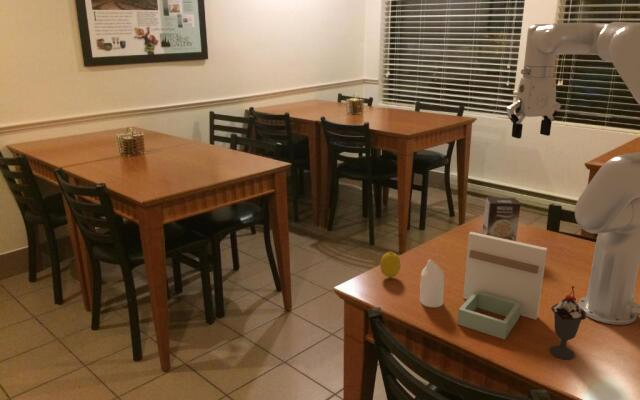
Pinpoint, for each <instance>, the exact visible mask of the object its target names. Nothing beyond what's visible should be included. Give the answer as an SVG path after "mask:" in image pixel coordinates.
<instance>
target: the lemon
mask: <svg viewBox="0 0 640 400" xmlns="http://www.w3.org/2000/svg"><path fill="white" fill-rule="evenodd" d="M400 259H401V258H400V257H399V255H398V254H396V253H395V252H393V251H392V250H391V251H388V252H385V253H384V254H383V256H382V257H381V259H380V264H379V265H380V272H381V273H382V274H383V275H384V276H385V277H387V278H389V279H392V278H393V277H396V276H398V274H399V272H400V270H401V260H400Z"/></svg>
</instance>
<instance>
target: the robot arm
mask: <svg viewBox="0 0 640 400" xmlns="http://www.w3.org/2000/svg"><path fill="white" fill-rule="evenodd" d="M560 55H561V56H562V55H593V56H594V55H597V56H598V57H599V58H600V59H601V60H602V61H605V62H610V63H612V65H613V66H614V68H615V70H616V71H617V74H619V77H620V78H621V79H622V81H623V82H624V84H625V86H626V88H627V89H628V90H629V92H630V94H631V95H632V98H634V100H635V101H636V102H637V103H638V105H640V22H629V21H628V22H627V21H626V22H625V21H623V22H622V21H613V22H610V23H606V22H604V23H600V22H557V23H541V24H540V23H538V24H532V25H530V26H529V27H528V30H527V36H526V43H525V54H524V64H523V69H521V70H520V74H521V75H522V77H521V78H520V81H519V84H518V88H517V92H516V97H515V102H513V103H512V104H510V105H509V106H507V107H506V112H507V117H508V118H509V120H510V122H511V123H512V127H511V128H512V129H511V137H512V138H515V139H521V138H522V134H523V127H524V125H523V123H522V122H523V121H524V120H525V118H532V117H533V118H537V117H542V118H543V119H541V123H540V131H539V133H540V134H541V135H543V136H549V137H550V135H551V129H552V122H554V120H555V117H556V116H557V115H558V114H559V113H558V112H559V110H560V109H561V108H562V104H561V103H560V102H558V101H556V100H557V83H556V81H557V80H556V78H555V77H554V73H555V72H554V71H555V65H556V63H555V62H556V56H560ZM580 194H581V195H580V196H579V197H578V199H577V201H576V204H575V208H574V217H575V221H576V223H577V225H578V227H579V228H580V229H582V230H583V231H585V232H587V233H589V234H598V236H597V237H596V242H595V246H594V252H593V258H592V263H591V269H590V276H589V281H588V288H587V294H586V295H585V296H583V297H580V299H579V300H578V305H579V306H580V308H581V309H583V310H584V311H585V312H586V317H588V318H590V319H592V320H594V321H597V322H600V323H604V324H607V325H608V324H609V325H614V326H625V325H626V326H627V325H629V324H633V323H634V322H635V321H636V320H637V316H640V303H638V302H636V301H635V298H636V296H635V295H634V293H635V287H636V282H637V278H638V273H639V268H640V151H637V152H630V153H623V154H618V155H615V156H613V157H612V158H610V159H608V160H607V161H606V162H604V164H603V165H602V166H601V167H600V168H599V169H598V170H597V172H596V173H595V175H594V176H593V178H591V180H590V181H589V183H588V185H586V187H585V188H584V190H583V191H582V193H580Z"/></svg>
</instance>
